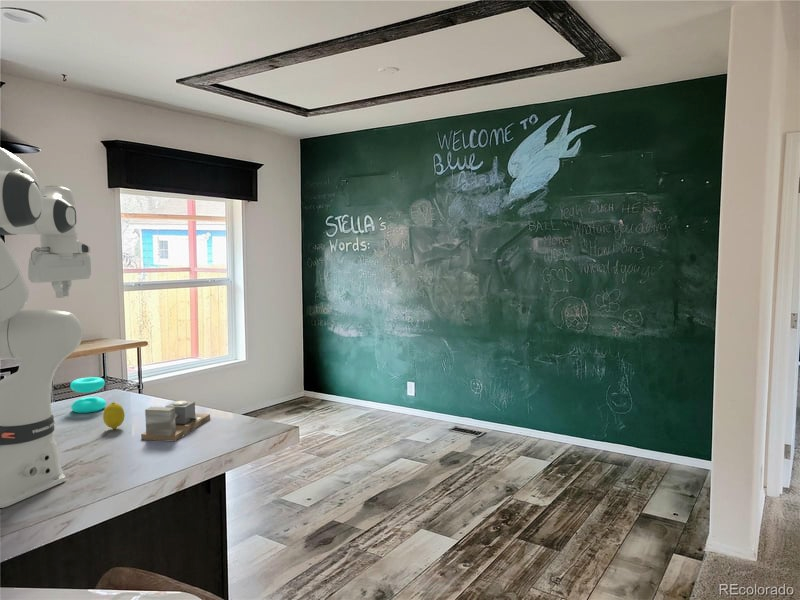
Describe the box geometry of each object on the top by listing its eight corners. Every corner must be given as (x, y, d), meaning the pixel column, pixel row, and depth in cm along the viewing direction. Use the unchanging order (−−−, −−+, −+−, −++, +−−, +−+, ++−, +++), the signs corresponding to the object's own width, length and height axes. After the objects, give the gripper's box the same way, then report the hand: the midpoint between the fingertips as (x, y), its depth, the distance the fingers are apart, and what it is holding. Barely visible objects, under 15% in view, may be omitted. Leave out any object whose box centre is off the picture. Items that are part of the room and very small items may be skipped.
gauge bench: (175, 441, 159) (174, 410, 158) (141, 439, 160) (140, 409, 160) (210, 418, 180) (209, 391, 179) (179, 417, 181) (178, 390, 180)
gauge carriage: (186, 427, 166) (186, 408, 165) (161, 426, 167) (160, 407, 166) (201, 418, 174) (200, 400, 174) (176, 417, 175) (176, 399, 175)
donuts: (73, 384, 182) (67, 379, 190) (75, 415, 183) (68, 409, 191) (108, 380, 189) (100, 374, 196) (109, 410, 189) (102, 403, 197)
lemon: (128, 426, 172) (127, 400, 171) (118, 432, 167) (116, 405, 166) (111, 426, 173) (109, 399, 172) (99, 432, 167) (98, 404, 166)
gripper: (42, 247, 148) (45, 301, 150) (94, 247, 169) (96, 294, 170) (19, 247, 149) (23, 300, 150) (74, 247, 169) (76, 294, 171)
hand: (62, 297), depth 160 cm, fingers closed
